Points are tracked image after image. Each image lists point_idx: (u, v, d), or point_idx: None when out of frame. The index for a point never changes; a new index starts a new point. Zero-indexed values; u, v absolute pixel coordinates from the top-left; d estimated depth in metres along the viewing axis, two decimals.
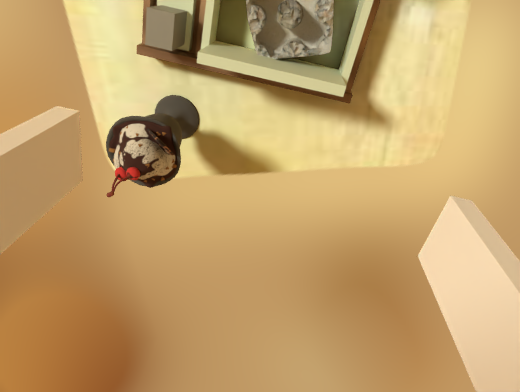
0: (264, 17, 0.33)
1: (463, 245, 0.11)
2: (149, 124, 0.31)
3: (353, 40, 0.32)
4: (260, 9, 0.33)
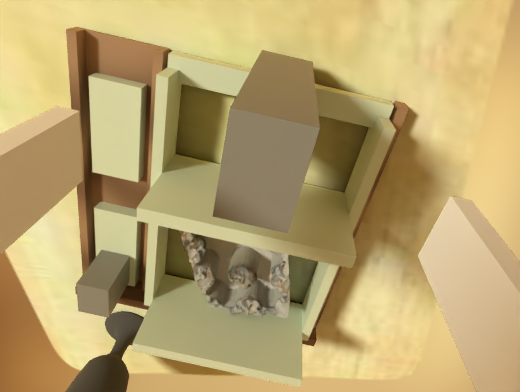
0: (213, 279, 0.29)
1: (464, 245, 0.11)
2: None
3: (313, 306, 0.29)
4: (209, 268, 0.29)
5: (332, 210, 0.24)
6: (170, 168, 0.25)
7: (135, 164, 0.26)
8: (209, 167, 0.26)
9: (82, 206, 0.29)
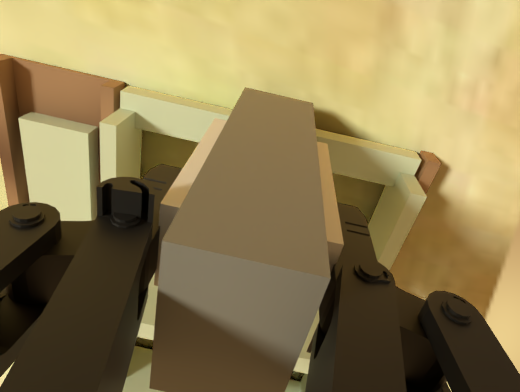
0: None
1: None
2: None
3: None
4: None
5: None
6: None
7: None
8: None
9: None
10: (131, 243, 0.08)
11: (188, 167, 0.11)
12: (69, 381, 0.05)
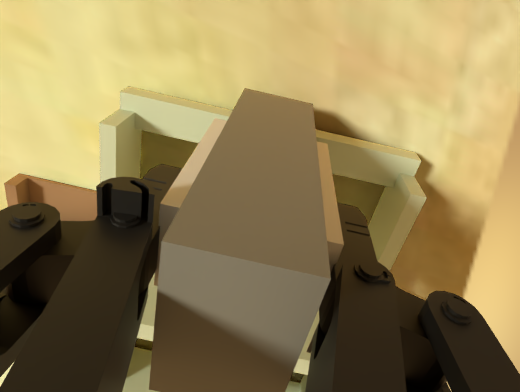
0: None
1: None
2: None
3: None
4: None
5: None
6: None
7: None
8: None
9: None
10: (131, 243, 0.08)
11: (188, 167, 0.11)
12: (69, 381, 0.05)
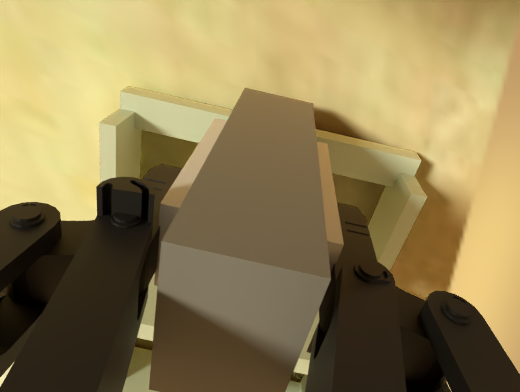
0: None
1: None
2: None
3: None
4: None
5: None
6: None
7: None
8: None
9: None
10: (131, 243, 0.08)
11: (188, 167, 0.11)
12: (69, 381, 0.05)
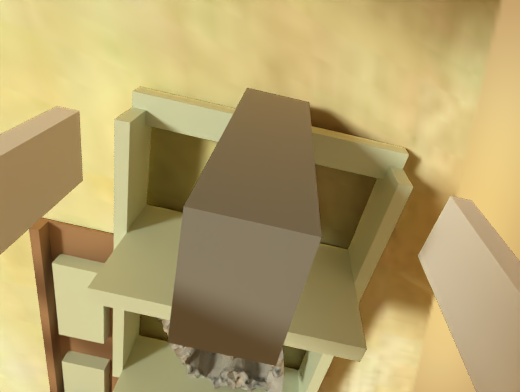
0: (193, 348, 0.24)
1: (463, 245, 0.11)
2: None
3: (311, 381, 0.24)
4: None
5: (334, 277, 0.20)
6: (138, 225, 0.20)
7: (100, 330, 0.27)
8: None
9: (50, 359, 0.29)
10: None
11: None
12: None
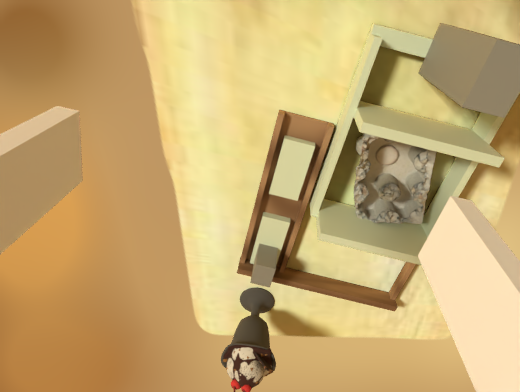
0: (368, 194, 0.40)
1: (463, 245, 0.11)
2: (256, 349, 0.43)
3: None
4: (364, 186, 0.40)
5: (472, 136, 0.35)
6: (359, 106, 0.35)
7: (298, 189, 0.42)
8: (380, 108, 0.37)
9: (255, 214, 0.44)
10: None
11: None
12: None
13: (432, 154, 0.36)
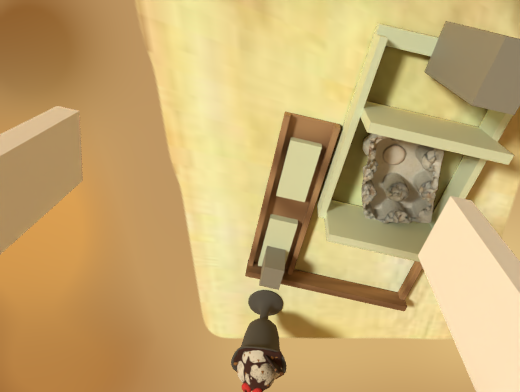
0: (376, 194, 0.39)
1: (464, 245, 0.11)
2: (266, 352, 0.43)
3: None
4: (372, 186, 0.40)
5: (480, 134, 0.35)
6: (365, 106, 0.35)
7: (305, 191, 0.42)
8: (386, 107, 0.37)
9: (262, 217, 0.44)
10: None
11: None
12: None
13: (439, 152, 0.36)
